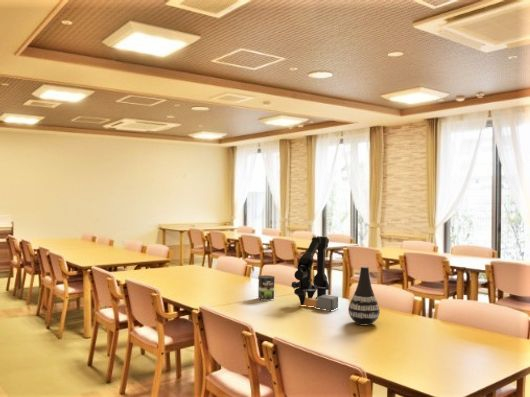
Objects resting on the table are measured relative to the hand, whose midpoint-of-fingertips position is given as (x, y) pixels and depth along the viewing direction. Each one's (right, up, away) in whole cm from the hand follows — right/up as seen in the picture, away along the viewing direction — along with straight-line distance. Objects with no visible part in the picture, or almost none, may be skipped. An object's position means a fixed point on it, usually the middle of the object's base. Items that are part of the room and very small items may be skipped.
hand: (305, 303), depth 289 cm
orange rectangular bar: (+6, -2, -4) cm, 8 cm away
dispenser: (+12, -2, -7) cm, 14 cm away
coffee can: (-24, -1, +17) cm, 29 cm away
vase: (+27, -2, -38) cm, 47 cm away
